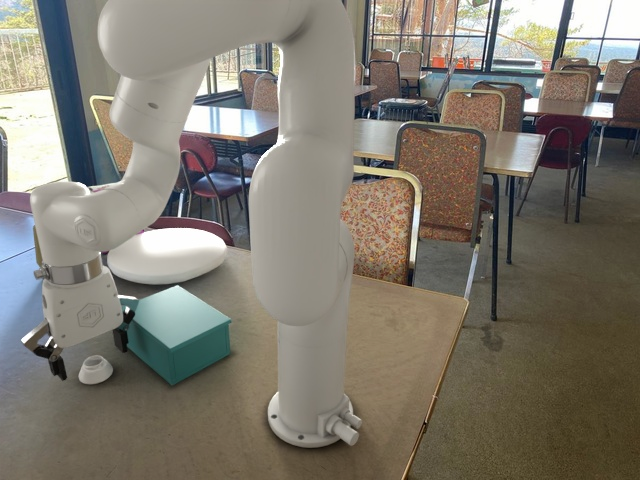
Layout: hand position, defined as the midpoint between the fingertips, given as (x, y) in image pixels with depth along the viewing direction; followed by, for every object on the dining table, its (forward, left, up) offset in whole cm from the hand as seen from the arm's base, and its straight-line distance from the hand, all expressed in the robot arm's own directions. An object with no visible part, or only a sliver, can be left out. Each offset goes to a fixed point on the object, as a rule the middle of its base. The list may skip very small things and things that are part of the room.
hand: (92, 362), depth 77 cm
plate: (+27, -30, -3) cm, 40 cm away
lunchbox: (-3, -13, -3) cm, 14 cm away
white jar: (0, 0, -3) cm, 3 cm away
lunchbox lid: (-4, -13, +4) cm, 14 cm away
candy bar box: (+45, -27, -3) cm, 52 cm away
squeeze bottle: (+41, -10, -3) cm, 42 cm away
